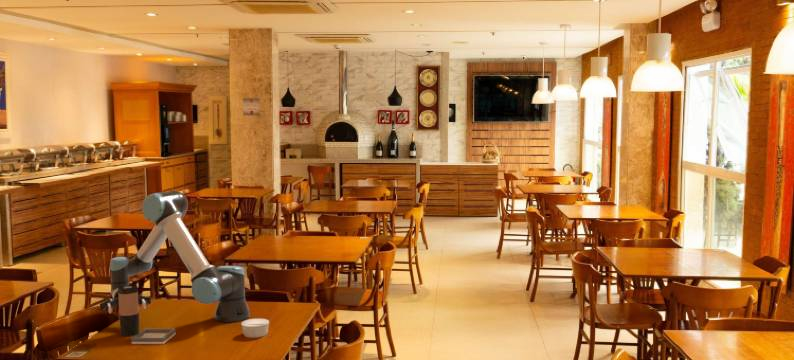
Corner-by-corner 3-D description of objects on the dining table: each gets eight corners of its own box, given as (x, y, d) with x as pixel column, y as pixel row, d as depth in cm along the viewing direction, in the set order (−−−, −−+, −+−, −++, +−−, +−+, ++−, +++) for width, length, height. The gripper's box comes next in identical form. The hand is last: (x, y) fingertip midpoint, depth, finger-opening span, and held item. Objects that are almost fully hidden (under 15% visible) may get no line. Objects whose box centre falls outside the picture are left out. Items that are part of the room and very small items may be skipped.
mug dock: (175, 334, 300) (175, 328, 300) (163, 343, 287) (163, 338, 287) (145, 334, 301) (144, 328, 301) (131, 343, 288) (131, 338, 288)
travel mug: (133, 336, 298) (131, 288, 296) (116, 336, 299) (114, 288, 298) (143, 331, 305) (141, 284, 303) (127, 330, 307) (124, 283, 305)
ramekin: (246, 340, 290) (245, 327, 290) (238, 333, 300) (237, 320, 300) (273, 336, 295) (272, 323, 295) (264, 329, 305) (264, 316, 305)
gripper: (152, 301, 326) (159, 312, 307) (92, 309, 315) (95, 320, 296) (151, 285, 326) (158, 295, 307) (91, 292, 315) (94, 302, 296)
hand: (127, 307), depth 301 cm, fingers open, 13 cm apart
